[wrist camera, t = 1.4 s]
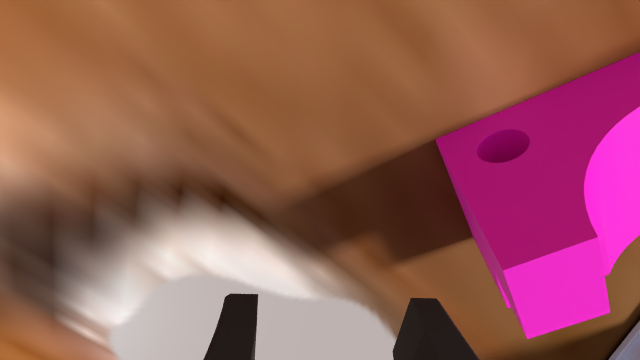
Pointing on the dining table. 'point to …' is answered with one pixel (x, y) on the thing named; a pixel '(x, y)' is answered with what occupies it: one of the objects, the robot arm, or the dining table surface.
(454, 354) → the robot arm
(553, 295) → the toy block
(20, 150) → the dining table surface
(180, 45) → the dining table surface
